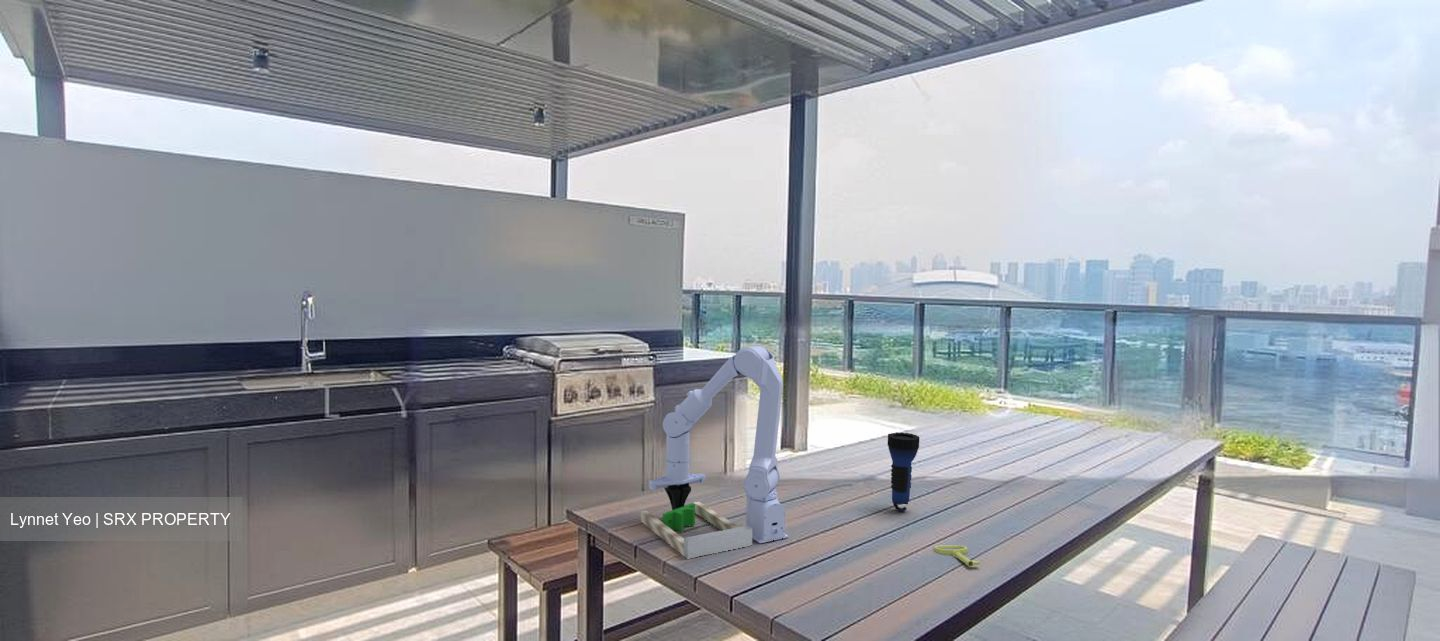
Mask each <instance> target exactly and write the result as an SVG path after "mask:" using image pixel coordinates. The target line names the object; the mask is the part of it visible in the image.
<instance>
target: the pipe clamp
mask: <svg viewBox="0 0 1440 641" xmlns="http://www.w3.org/2000/svg"><path fill="white" fill-rule="evenodd" d="M662 522H663V523H664V524H665V525H667V526H668V527H669V528H670V529H672V530H673V531H674V530H675V529H676V530H675V531H678V530H679V532H681V531H682V532H684V527H688V526H687V525H690V526H689V527H692V526H694V525H695V526H696V514H695V504H693V503H692V502H691V503H688V504H686V505H685V504H684V506H683V507H680V508H677V509H675V510H672V509H671V510H669V511H667V512H665V513H662ZM683 526H684V527H683ZM695 526H694V527H695Z"/></svg>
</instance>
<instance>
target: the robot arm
mask: <svg viewBox="0 0 1440 641" xmlns="http://www.w3.org/2000/svg"><path fill="white" fill-rule="evenodd" d="M776 363H777V362H776V361H775V355H774V354H773V353H772V352H771V351H770V350H769V349H768V348H767V347H766V346H764V345H761V344H755V345H752V346H749V347H743V348H740V349H739V350H738V351H737V352H736V353H735V354H734V355H732V356H731V357H730V358H728V359H727V360H726V361H725V363H723V364H722V366H721V367H720V368H719V370H717V371H716V373H715V374H714V375H713V376H712V377H711V378H710V379H709V381H708V382H707V383H706V384H705V386H703V388H700V389H699V388H695V389H694V390H690V391H688V392H687V393H686V396H687V397H686V398H685V399H684V400H683V401H682V402H681V403H680V404H677V405H676V406H675V407H674V411H673V412H669V413H667V414H666V415H665V417H664V419H663V421H662V428H663V431H664V432H665V434H666V440H665V441H666V444H665V447H666V448H665V450H666V452H665V453H666V454H665V456H666V457H665V461H666V462H665V466H666V467H665V476H663V477H659V478H656V479H650V480H648V489H649V490H651V491H656V490H659V489H663V488H664V490H665V493H666V494H667V497H668V499H669V502H670V506H671V511H672V510H675V509H677V508H680V507H683V506H685V503H686V501H687V499H688V497H689V495H690V493H691V491H692V486H691V484H698V483H701V484H704V483H706V474H705V473H701V472H700V473H699V472H698V473H690V453H691V452H690V446H691V444H690V443H691V442H690V438H691V437H690V433H691V431H692V429H693V428H694V424H695V423H697V421H699V420H700V418H702V416H704V414H705V413H706V412H708V410H709V409H710V408H711V407H712V406H713V402H712V401H713V398H714V397H715V396H716V395H717V394H718V393H719V392H720V391H721V390H722V389H723V388H724V387H726V385H727V384H728V383H730V381H731V380H733V378H735V377H738V376H741V375H743V376H745V377H746V378H748V379H750V380H752V382H754V384H755V385H756V386H757V387H758V388H759V389H760V392H759V402H758V411H757V419H756V428H755V429H756V430H755V438H754V447H753V448H754V449H753V456H752V459H751V461H750V463H749V468H748V473H747V474H746V476H745V478H744V480H743V489H744V491H745V493H746V504H745V505H746V506H745V507H746V508H745V509H746V511H745V512H746V513H745V514H746V515H745V516H746V517H745V526H749V527H751V528H752V540H754V541H755V542H757V543H758V544H762V543H763V544H764V543H767V542H773V540H774V541H779V540H782V538H783V539H787V537H788V538H789V534H786V510H785V507H784V506H783V504H781V503H780V501H779V500H778V499H779V498H778V492H777V489H776V487H777V486H778V485H779V482H780V479H781V476H780V472H779V469H778V462H779V461H778V458H777V456H776V454H777V453H776V450H777V443H778V436H779V435H778V434H779V425H780V414H781V408H782V397H783V390H784V389H783V388H784V380H783V377H782V375H781V373H780V370H779V368H778V365H777V364H776Z"/></svg>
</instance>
